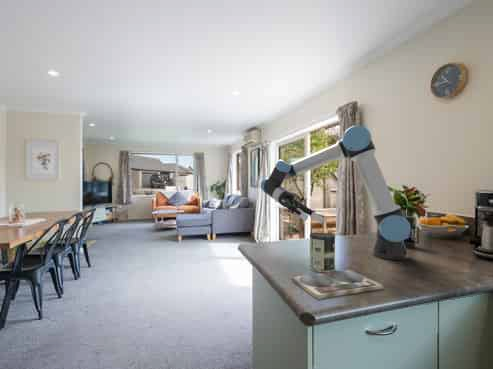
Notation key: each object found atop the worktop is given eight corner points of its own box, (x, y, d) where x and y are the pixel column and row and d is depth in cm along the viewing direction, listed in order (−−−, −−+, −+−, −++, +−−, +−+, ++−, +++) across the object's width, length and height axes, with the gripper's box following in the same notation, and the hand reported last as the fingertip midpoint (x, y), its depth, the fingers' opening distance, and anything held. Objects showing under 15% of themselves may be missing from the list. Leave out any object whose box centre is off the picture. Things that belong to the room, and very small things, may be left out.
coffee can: (333, 265, 113) (333, 232, 113) (336, 273, 103) (337, 237, 103) (308, 263, 115) (309, 231, 115) (309, 271, 105) (310, 236, 105)
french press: (392, 245, 150) (392, 205, 150) (400, 243, 155) (400, 204, 155) (414, 249, 140) (414, 207, 140) (422, 247, 145) (422, 206, 145)
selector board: (350, 272, 104) (350, 269, 104) (382, 288, 88) (382, 284, 88) (291, 280, 95) (291, 276, 95) (316, 299, 80) (317, 294, 80)
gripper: (294, 207, 141) (324, 229, 126) (264, 199, 123) (295, 224, 109) (300, 195, 139) (332, 216, 124) (271, 185, 122) (303, 209, 107)
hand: (315, 220), depth 116 cm, fingers open, 13 cm apart
